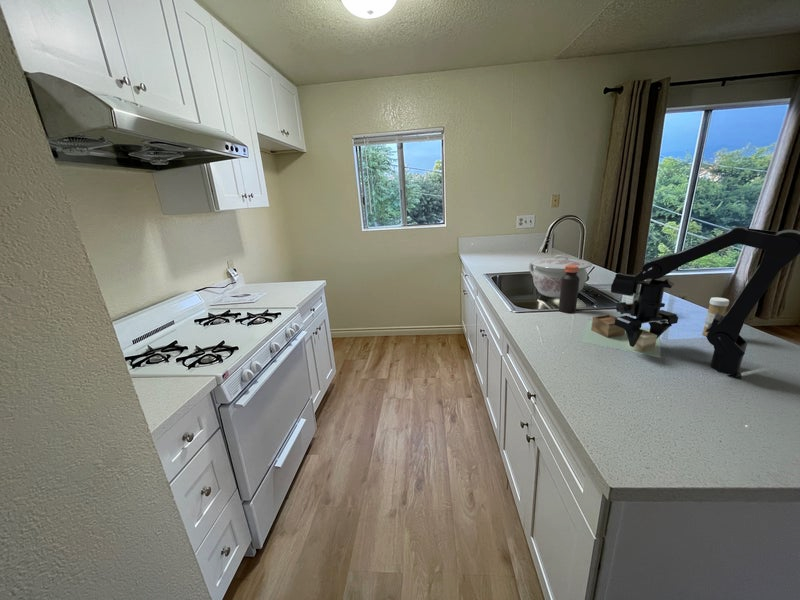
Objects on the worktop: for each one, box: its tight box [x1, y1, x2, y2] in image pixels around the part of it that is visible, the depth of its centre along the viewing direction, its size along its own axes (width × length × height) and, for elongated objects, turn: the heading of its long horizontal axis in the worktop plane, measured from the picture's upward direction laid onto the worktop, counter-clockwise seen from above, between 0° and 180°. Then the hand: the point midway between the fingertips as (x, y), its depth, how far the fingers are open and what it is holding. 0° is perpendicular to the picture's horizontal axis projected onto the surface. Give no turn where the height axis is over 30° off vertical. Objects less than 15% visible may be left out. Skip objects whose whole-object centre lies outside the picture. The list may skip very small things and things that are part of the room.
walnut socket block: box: [591, 314, 625, 338], centre depth 114 cm, size 7×7×5 cm
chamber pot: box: [528, 254, 593, 299], centre depth 160 cm, size 28×28×21 cm
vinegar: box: [558, 265, 580, 314], centre depth 137 cm, size 7×7×20 cm
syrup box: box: [618, 279, 648, 315], centre depth 134 cm, size 6×6×14 cm
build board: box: [579, 319, 661, 358], centre depth 112 cm, size 24×22×1 cm
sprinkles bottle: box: [701, 296, 730, 337], centre depth 108 cm, size 5×5×13 cm
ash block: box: [628, 329, 657, 352], centre depth 103 cm, size 5×5×5 cm
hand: (641, 344), depth 103 cm, fingers open, 7 cm apart
